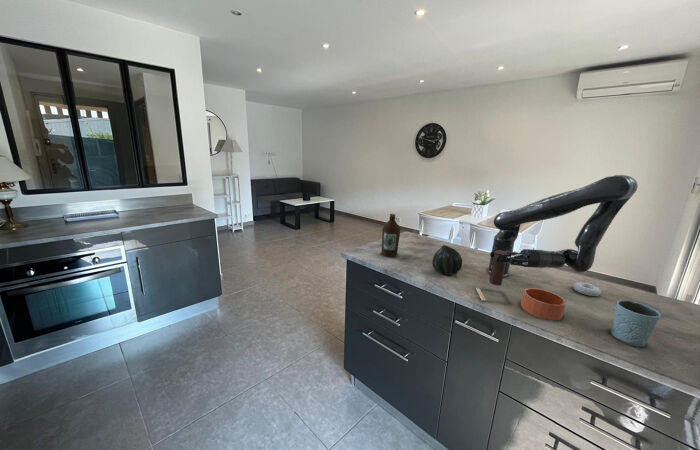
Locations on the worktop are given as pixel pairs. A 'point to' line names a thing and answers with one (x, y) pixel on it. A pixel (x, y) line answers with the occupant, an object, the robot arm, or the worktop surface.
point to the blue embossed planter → (634, 322)
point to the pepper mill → (497, 269)
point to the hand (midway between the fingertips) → (493, 256)
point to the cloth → (480, 294)
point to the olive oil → (390, 237)
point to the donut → (586, 289)
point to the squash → (447, 260)
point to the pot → (543, 303)
